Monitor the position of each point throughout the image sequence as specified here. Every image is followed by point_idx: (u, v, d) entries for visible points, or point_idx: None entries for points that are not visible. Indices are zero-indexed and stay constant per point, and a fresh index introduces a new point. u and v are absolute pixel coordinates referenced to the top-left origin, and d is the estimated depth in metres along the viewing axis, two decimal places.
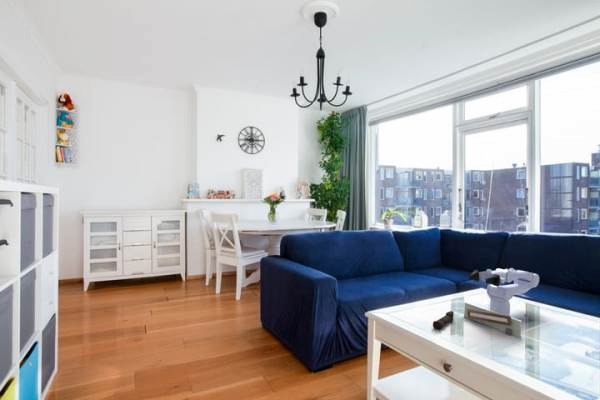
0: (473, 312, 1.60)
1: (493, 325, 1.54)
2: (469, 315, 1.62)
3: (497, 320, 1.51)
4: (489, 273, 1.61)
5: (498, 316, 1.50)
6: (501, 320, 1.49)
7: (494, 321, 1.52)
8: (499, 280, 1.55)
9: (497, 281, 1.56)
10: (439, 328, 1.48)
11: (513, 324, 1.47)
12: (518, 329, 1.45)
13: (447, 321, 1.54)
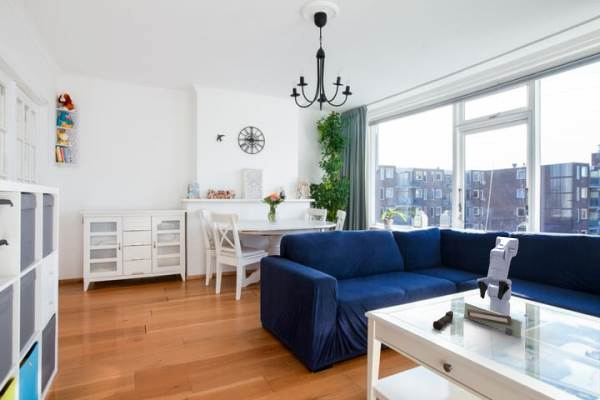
0: (473, 312, 1.60)
1: (493, 325, 1.54)
2: (469, 315, 1.62)
3: (497, 320, 1.51)
4: (492, 279, 1.53)
5: (498, 316, 1.50)
6: (501, 320, 1.49)
7: (494, 321, 1.52)
8: (507, 284, 1.48)
9: (506, 286, 1.48)
10: (439, 328, 1.48)
11: (513, 324, 1.47)
12: (518, 329, 1.45)
13: (447, 321, 1.54)
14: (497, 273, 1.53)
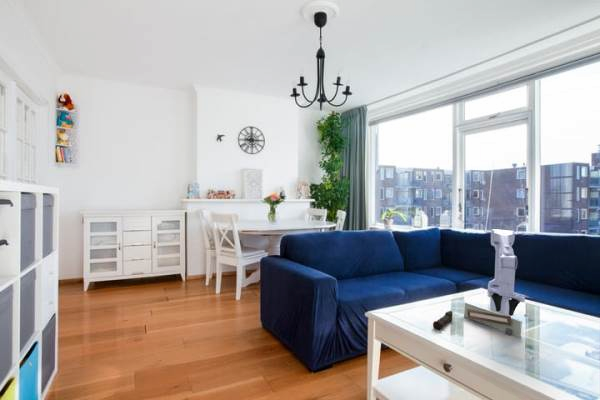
0: (473, 312, 1.60)
1: (493, 325, 1.54)
2: (469, 315, 1.62)
3: (497, 320, 1.51)
4: None
5: (498, 316, 1.50)
6: (501, 320, 1.49)
7: (494, 321, 1.52)
8: (517, 301, 1.42)
9: None
10: (439, 328, 1.48)
11: (513, 324, 1.47)
12: (518, 329, 1.45)
13: (447, 321, 1.54)
14: (508, 289, 1.44)
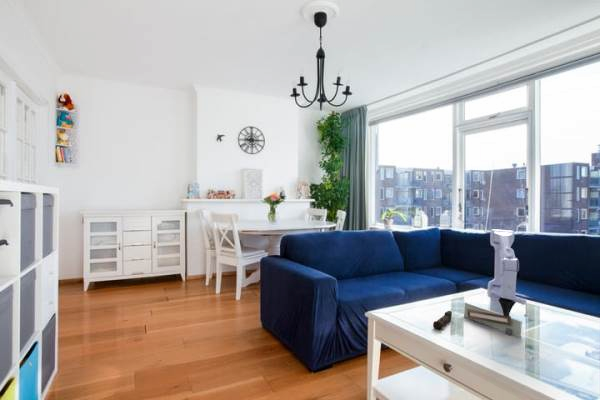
0: (473, 312, 1.60)
1: (493, 325, 1.54)
2: (469, 315, 1.62)
3: (497, 320, 1.51)
4: None
5: (498, 316, 1.50)
6: (501, 320, 1.49)
7: (494, 321, 1.52)
8: (513, 302, 1.45)
9: None
10: (440, 328, 1.48)
11: (513, 324, 1.47)
12: (518, 329, 1.45)
13: (446, 321, 1.54)
14: (510, 291, 1.45)
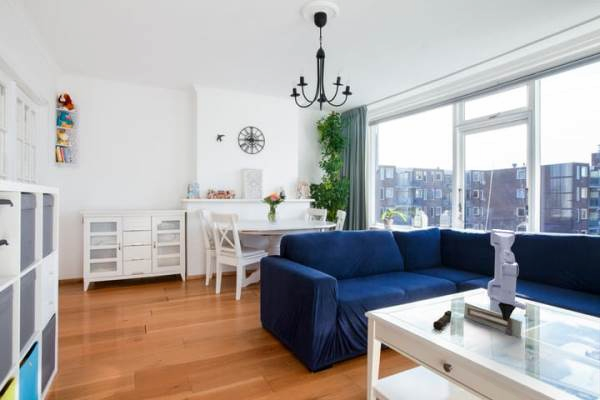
0: (473, 311, 1.60)
1: (493, 325, 1.54)
2: (469, 313, 1.62)
3: (497, 321, 1.51)
4: None
5: (498, 318, 1.50)
6: (501, 322, 1.49)
7: (494, 322, 1.52)
8: (513, 307, 1.45)
9: None
10: (440, 328, 1.48)
11: (513, 324, 1.47)
12: (518, 329, 1.45)
13: (446, 321, 1.54)
14: (510, 296, 1.45)
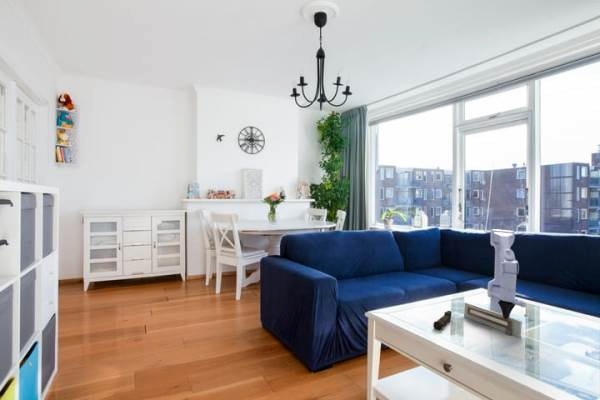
0: (474, 310, 1.60)
1: (493, 325, 1.54)
2: (469, 312, 1.62)
3: (497, 322, 1.51)
4: None
5: (499, 318, 1.50)
6: (501, 322, 1.49)
7: (494, 322, 1.52)
8: (513, 304, 1.45)
9: None
10: (440, 328, 1.48)
11: (513, 324, 1.47)
12: (518, 329, 1.45)
13: (446, 321, 1.54)
14: (510, 294, 1.45)
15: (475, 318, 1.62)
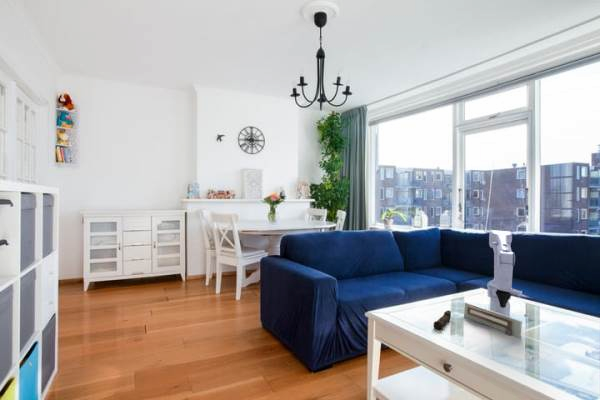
0: (474, 310, 1.60)
1: (493, 325, 1.54)
2: (469, 312, 1.62)
3: (497, 322, 1.51)
4: None
5: (499, 318, 1.50)
6: (501, 322, 1.49)
7: (494, 322, 1.52)
8: (509, 294, 1.51)
9: None
10: (440, 328, 1.48)
11: (513, 324, 1.47)
12: (518, 329, 1.45)
13: (446, 321, 1.54)
14: (506, 283, 1.50)
15: (475, 318, 1.62)
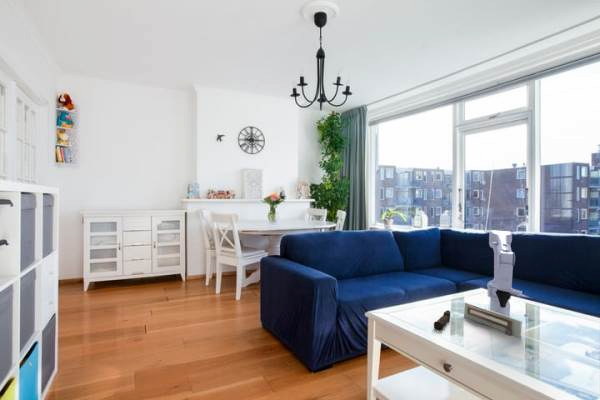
0: (474, 310, 1.60)
1: (493, 325, 1.54)
2: (469, 312, 1.62)
3: (497, 322, 1.51)
4: None
5: (499, 318, 1.50)
6: (501, 322, 1.49)
7: (494, 322, 1.52)
8: (509, 294, 1.51)
9: None
10: (440, 328, 1.48)
11: (513, 324, 1.47)
12: (518, 329, 1.45)
13: (446, 321, 1.54)
14: (506, 283, 1.50)
15: (475, 318, 1.62)
